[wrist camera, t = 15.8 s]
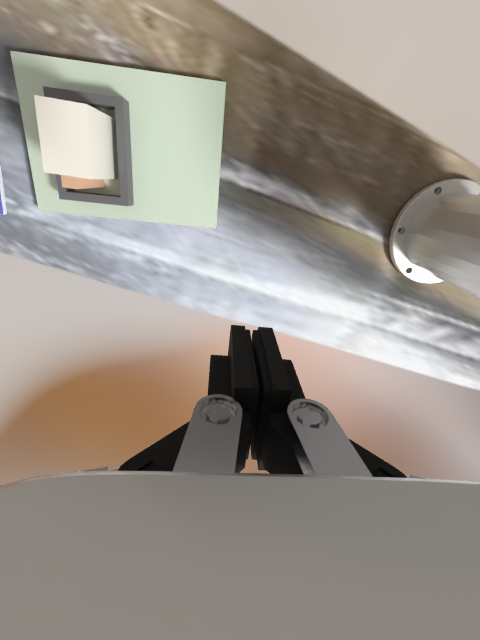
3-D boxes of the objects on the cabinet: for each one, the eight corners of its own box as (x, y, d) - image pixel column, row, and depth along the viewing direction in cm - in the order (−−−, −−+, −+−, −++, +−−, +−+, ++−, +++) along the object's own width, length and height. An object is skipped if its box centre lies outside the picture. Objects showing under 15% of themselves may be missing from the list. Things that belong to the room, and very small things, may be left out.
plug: (115, 119, 30) (86, 104, 24) (118, 188, 33) (92, 191, 26) (74, 112, 29) (33, 94, 23) (80, 183, 32) (45, 184, 26)
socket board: (225, 84, 30) (226, 75, 27) (216, 227, 36) (215, 231, 33) (17, 54, 28) (-6, 41, 25) (43, 209, 34) (28, 212, 31)
